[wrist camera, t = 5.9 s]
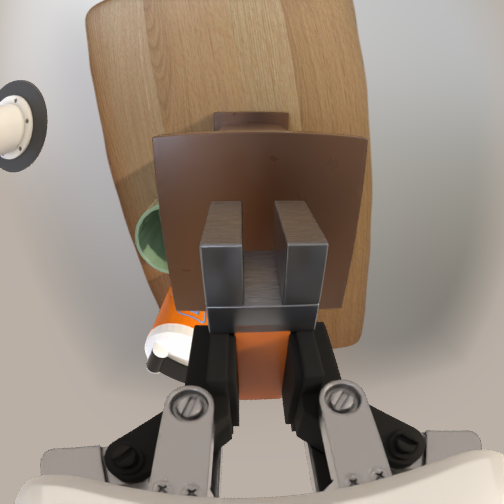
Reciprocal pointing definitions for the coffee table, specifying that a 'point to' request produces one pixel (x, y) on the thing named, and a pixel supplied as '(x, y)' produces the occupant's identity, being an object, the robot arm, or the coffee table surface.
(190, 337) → the shaker bottle
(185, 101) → the coffee table surface
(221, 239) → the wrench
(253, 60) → the coffee table surface
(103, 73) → the coffee table surface
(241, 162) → the stand
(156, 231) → the green cup
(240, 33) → the coffee table surface
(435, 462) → the robot arm
